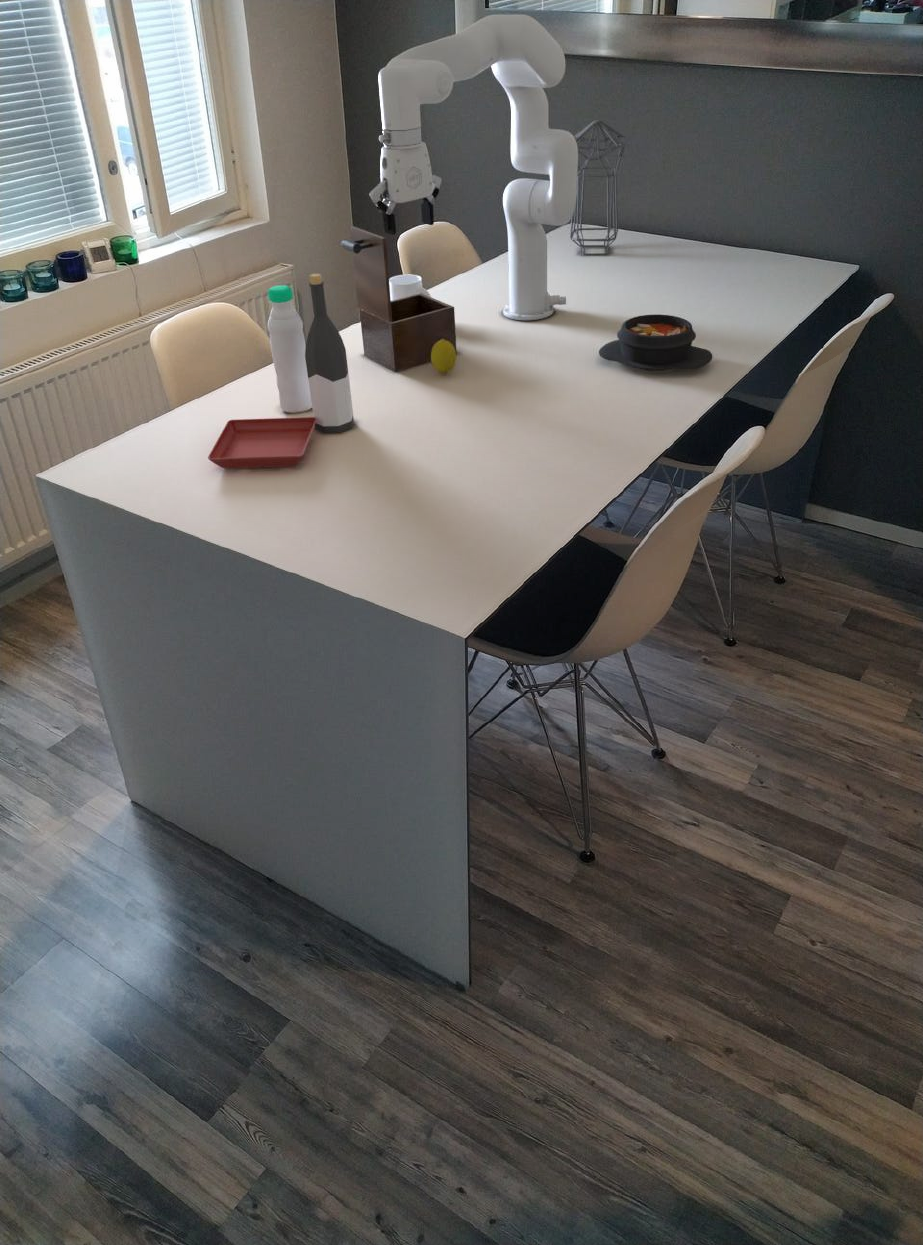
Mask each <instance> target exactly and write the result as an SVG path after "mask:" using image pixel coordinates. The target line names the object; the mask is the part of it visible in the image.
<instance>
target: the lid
mask: <svg viewBox="0 0 923 1245" xmlns="http://www.w3.org/2000/svg"><path fill="white" fill-rule="evenodd" d="M349 232H350V233H349V234H350V240H349V239H347V238H346V239H343V240H342V241H341V248H342V249H343V250H346V251H348V252H351V254H352V263H353V264H352V265H353V275H354V284H355V294H356V306H357V308H358V309H362V310H364V311H366V312H369V313H371V314H373V315H375V316H377V317H379V318H381V319H384V320H386V321H388V322H392V311H391V298H390V285H389V279H390V273H389V262H388V261H389V260H388V250H387V238H386V237H385V236H381V235H379V234H376V233H373V232H371V231H368V230H365V229H362V228H360V227H358V226H354V225H351V226H349Z"/></svg>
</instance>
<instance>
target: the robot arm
mask: <svg viewBox="0 0 923 1245" xmlns="http://www.w3.org/2000/svg"><path fill="white" fill-rule="evenodd" d="M565 56H566V55H565V53H564V51H563V48H562V47H561V45H560V44H559V43H558V41H557V40H555V38H554V37H553V36H552V35H551V34H550V33H549V32H548V30H547V29H546V28H545V27H544V26H543V25H542V24H541V23H540V22H538V21H537V20H536V19H535V18H534V17H532V16H530V15H528V14H522V13H521V14H513V13H511V14H503V13H502V14H499V13H497V14H490V15H486V16H484V17H482V18H481V19H479V20H477V21H475V22H474V23H472V24H470V25H469V26H467V27H465V28H463V29H461V30H459V31H458V32H457V33H455V34H452V35H448V36H446V37H441V38H440V39H439V38H438V39H436V40H433V41H430V42H427V43H423V44H420V45H416V46H414V47H411V48H409V49H407V50H405V51H402V52H401V53H400V54H398V55H396V56H395V57H393V58H391V59H390V61H389V62H387V64H386V66H384V67H383V68H381V69H380V70H379V72H378V89H379V90H378V92H379V102H380V103H379V104H380V114H381V124H382V125H381V126H382V134H380V135H379V136H378V140H379V142H380V144H383V146H382V147H381V153H380V182H379V183H378V184H377V185H376V186H375V187H374V188H372V190H371V191H370V192H369V197H370V199H371V201H372V203H373V206H374V207H375V208H376V209H377V210H378V211H379V213H381V215H382V224H383V225H382V226H383V231H384V233H385V234H388V235H392V236H394V235H396V234H397V227H396V226H397V225H396V216H395V213H393V211H394V209H395V207H396V205H397V204H403V203H408V202H412V201H416V200H420V199H421V200H422V201H421V203H420V210H421V211H420V212H421V223H423V224H425V225H429V226H433V225H434V224H435V222H434V220H435V219H434V218H435V217H434V216H435V214H434V205H435V203H436V199H437V197H438V195H439V194H440V188H441V185H442V181H443V180H442V177H440V176H438V175H435V174H433V173H432V172H433V171H432V165H431V160H430V155H429V154H430V153H429V150H428V148H427V143H426V142H425V141H423V134H422V121H421V119H422V118H421V105H434V104H439V103H442V102H444V101H445V100H446V99H447V98H448V97H449V96H450V95H451V93H452V90H453V87H454V83H456V82H461V81H467V80H471V79H473V78H474V77H476V76H478V75H480V74H481V73H482V72H484V71H485V70H487V69H489V68H490V67H491V71H492V74H493V76H494V77H495V79H496V80H497V82H498V83H499V84H500V85H501V86H502V89H504V92H505V93H506V95H507V97H508V100H509V104H510V112H511V113H510V116H511V117H510V162H511V165H512V166H513V168H514V169H515V170H516V171H519V172H521V173H529V174H538V175H546V176H547V175H548V176H549V180H546V179H538V178H528V177H526V178H523V177H522V178H517V179H514V180H511V181H510V182H509V183H508V184H507V185H506V187H505V189H504V191H503V194H502V206H503V207H502V208H503V212H504V216H505V217H504V218H505V222H506V228H507V229H506V230H507V250H508V252H507V255H508V256H507V257H508V258H507V259H508V299H509V300H508V302H509V303H508V304H506V305H505V306H504V307H503V309H502V310H503V312H502V314H503V315H504V316H505V317H506V318H508V319H510V320H516V321H537V320H542V319H545V318H548V317H550V316H551V315H553V313H554V306H557V305H558V306H561V305H562V306H563V305H567V298H566V295H565V296H560V294H553V295H550V294H549V291H548V237H547V234H546V231H545V229H544V226H543V225H547V226H555V227H556V226H557V227H558V226H560V227H562V226H565V225H567V224H568V223H569V222H571V220H572V216H573V213H574V214H575V202H576V189H577V174H578V173H577V170H578V167H579V153H578V150H579V148H577V146H578V144H577V142H576V140H575V137H574V136H575V135H573V134H572V133H571V132H570V131H568V130H566V129H565V130H564V129H558V128H550V126H549V101H548V100H549V99H548V97H547V94H546V92H545V90H544V89H550V88H554V87H555V86H557V85H559V84H560V83H561V81H562V80H563V78H564V76H565V73H566V57H565ZM381 196H382V198H383V200H382V199H381Z"/></svg>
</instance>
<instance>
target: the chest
mask: <svg viewBox="0 0 923 1245" xmlns="http://www.w3.org/2000/svg"><path fill="white" fill-rule="evenodd" d="M358 309H359V320H360V328H361V337H362V345H363V346H362V348H363V355H364V356H365V357H366V358H369V359H371V360H372V361H374V362H376V363H378V364H380V365H382V366H383V367H385V368H388V370H391V371H393V372H395V373H396V372H399V371H403V370H406V369H409V368H414V367H416V366H420V365H423V364H426V363H430V362H431V351H432V347H433V346H434V344H435V343H436V342H438V341H440V340H441V339H444V340H446V341H449V342H450V343H451V344H452V345H453V347H454V349H455V352H456V355H457V353H458V352H457V335H456V315H455V314H456V312H455V306H453V305H451V304H448V303H446V302H443V301H442V300H438V299H436V298H433V297H432V296H431V297H429V296H426V295H424V294H421V293H420V294H416V295H412V296H408V297H405V298H401V299H397V300H393V301H391V311H392V322H388V321H386V320H384V319H381V318H379V317H377V316H375V315H373V314H371V313H369V312H366V311H364V310H362V309H360V308H358Z"/></svg>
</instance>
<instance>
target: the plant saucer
mask: <svg viewBox="0 0 923 1245" xmlns="http://www.w3.org/2000/svg"><path fill="white" fill-rule="evenodd" d="M316 421H317V418H316V417H314V416H308V417H307V416H305V417H276V418H275V417H271V418H270V417H269V418H244V419H229V420H227V421H226V424H225V426H224V427H223V429H222V430H221V433H220V435H219V436H218V438H217V440H216V441H215V443H214V445H213V447H212V449H211V450H210V453H209V454H208V456H207V459H208V460H209V461H210V462H211V463H213V464H214V465H216V466H218V467H220V468H222V469H250V468H251V469H252V468H253V469H257V468H288V467H297V466H298V465H299V464H300V463H301V461H302V460H303V457H304V455H305V453H306V450H307V447H308V444H309V442H310V439H311V436H312V434H313V431H314V429H315V424H316Z"/></svg>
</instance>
